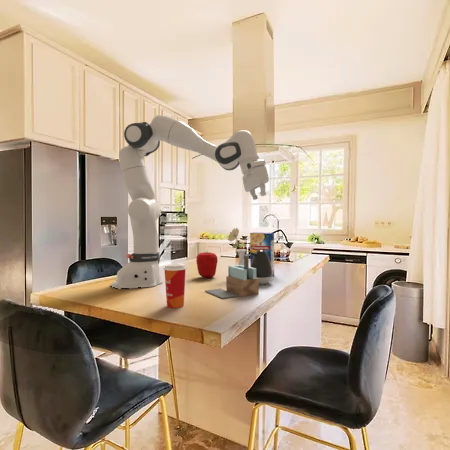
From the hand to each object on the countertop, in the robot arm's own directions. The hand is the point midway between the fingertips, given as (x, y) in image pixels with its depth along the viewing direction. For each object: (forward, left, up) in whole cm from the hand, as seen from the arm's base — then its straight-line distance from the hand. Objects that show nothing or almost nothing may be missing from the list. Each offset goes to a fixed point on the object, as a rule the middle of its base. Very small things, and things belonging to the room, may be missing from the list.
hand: (259, 197), depth 136 cm
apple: (-10, +31, -39) cm, 50 cm away
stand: (-13, -5, -38) cm, 41 cm away
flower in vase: (+4, +22, -39) cm, 44 cm away
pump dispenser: (+4, +5, -39) cm, 39 cm away
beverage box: (+17, +20, -39) cm, 47 cm away
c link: (-13, -5, -32) cm, 35 cm away
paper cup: (-43, -9, -39) cm, 59 cm away
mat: (-22, -3, -38) cm, 44 cm away
